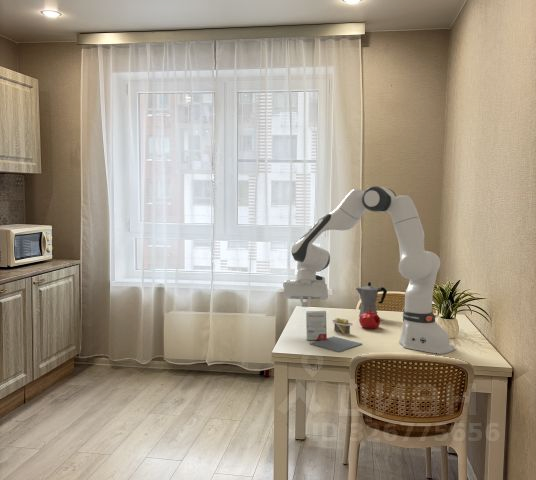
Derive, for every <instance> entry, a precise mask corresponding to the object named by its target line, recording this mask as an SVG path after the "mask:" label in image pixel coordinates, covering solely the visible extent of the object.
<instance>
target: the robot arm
mask: <svg viewBox="0 0 536 480" xmlns="http://www.w3.org/2000/svg"><path fill="white" fill-rule="evenodd" d="M366 211H370V212H375V213H379V214H380V213H388V214H389V215H390V219H391V220H392V225H393V228H394V232H395V234H396V239H397V241H398V245H399V246H398V249H399V263H398V271H399V274H400V275H401V276H402V277H403V278H404V279H406V280H409V281H408V285H407V288H406V290H405V295H404V309H403V312H402V313H403V314H402V321H403V325H402V330H401V335H400V339H399V341H398V342H399V345H402V348H404V349H407V350H413V351H414V350H415V351H419V352H425V353H430V354H436V353H437V355H442V354H448V353H450V352H454V350H455V349H456V346H455V344H451V343H450V337H449V334H448V332H447V331H446V330H445V329H444V328H443V327H442V326H441V325H440V324H438V322H437V321H436V318H437V317H438V314H434V313H433V296H434V295H433V294H434V288H435V285H436V280H437V276H438V275H437V274H438V272H439V270H440V268H441V259H440V257H439V256H438V254H436V253H435V252H432V251H430V250H426V249H425V237H426V236H425V231H424V228H423V225H422V222H421V219H420V215H419V212H418V209H417V208H416V205H415V202H414V201H413V199H412V198H411V197H410V196H409V195H406V194H405V195H404V194H400V195H397V194H396V193H395V192H394V190H391V189H390V188H387V187H384V186H377V185H376V186H375V185H373V186H370V187H368V188H366V189H364V190H362V189H360V188H354V189H352V190H350V192H348V193H347V195H345V197H344V198H343V199H342V201H341V202H339V204H338V206H337V207H336V208H335V209H334V210H333V211H331V212H329V213H325V214H323V215H321V217H319V219H318V220H317V221H315V223H313V225H312V226H311V227H310V228H309V229H308V230H307V231H306V232H305V233H304V234H303V236H302V237H300V238H299V239H298V240H297V241H296V242H295V243H294V244H293V245H292V248H291V249H290V250H291V252H290V253H291V256H292V258H293V260H294V261H296V262H297V264H296V269H297V273H296V280H295V279H292V280H290V279H287V280H285V281H283V285H282V286H283V293H282V296H283V298H284V300H285V299H286V300H287V299H288V300H299V302H300V304H301V307H302V308H309V305H310V303H311V302H312V301H313V300H315V301H327V299H328V298H329V290H328V285H327V283H326V278H325V277H324V276H321V275H318V274H317V273H319V272H322V271H324V270H325V269H327V268H328V267H329V265H330V263H331V256H330V255H331V254H330V252H329V251H328V250H327V249H324V248H322V247H320V246H318V245H316V244H314V242H315V241H316V240H317V239H318V238H319V237H320V236H321V234H323V233H324V232H326V231H348V230H351V229H353V228H354V227H355V226H356V225H357V224H358V222H359V220H360V219H361V218H362V217H363V215H364V214H365V212H366ZM304 300H307V301H304Z"/></svg>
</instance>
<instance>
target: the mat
mask: <svg viewBox="0 0 536 480" xmlns="http://www.w3.org/2000/svg"><path fill="white" fill-rule="evenodd" d="M309 345H311V346H314V345H315V347H318V346H319V347H318V348H321V347H323V348H322V349H325V348H326V350H329V349H330V350H329V351H332V350H333V351H332V352H336V353H341V351H342V352H344V351H346V350H347V351H348V350H349V349H353V348H355V347H356V348H357V347H359V346H363V343H361V342H357V341H353V340H350V339H345V338H342V337H337V336H335V335H334V336H331V337H327V340H315V341H314V342H310V343H309Z"/></svg>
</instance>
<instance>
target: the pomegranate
mask: <svg viewBox="0 0 536 480" xmlns="http://www.w3.org/2000/svg"><path fill="white" fill-rule="evenodd" d="M365 312H366V311H365ZM365 312H364V314H362V315H361V316H360V317H359V318H358V321H359V325H360V326H361V327H362V328H363V329H367V330H376V329H378V328H379V327H380V325H381V320H382V319H381V317H380V316H379V314H378V311H377V312H376V313H377V314H375V312H371V308H369V313H368V312H367V313H365Z"/></svg>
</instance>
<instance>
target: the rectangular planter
mask: <svg viewBox="0 0 536 480" xmlns="http://www.w3.org/2000/svg"><path fill="white" fill-rule="evenodd" d="M332 323H333V325H334V327H333V330H334V332H338V333H342V334H344V335H345V334H350V333H351V326H353V323H352V322H349V319H345V318H340V317H337V318H335V319H332Z"/></svg>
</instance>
